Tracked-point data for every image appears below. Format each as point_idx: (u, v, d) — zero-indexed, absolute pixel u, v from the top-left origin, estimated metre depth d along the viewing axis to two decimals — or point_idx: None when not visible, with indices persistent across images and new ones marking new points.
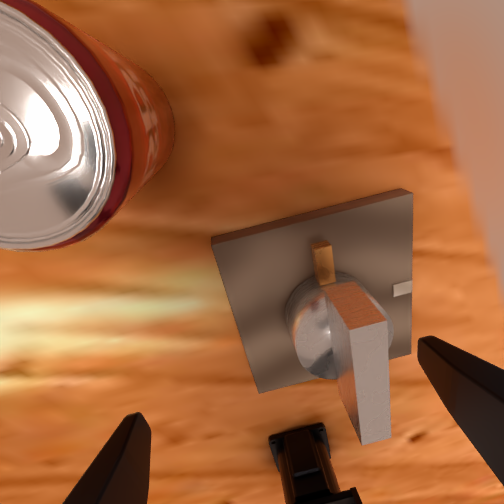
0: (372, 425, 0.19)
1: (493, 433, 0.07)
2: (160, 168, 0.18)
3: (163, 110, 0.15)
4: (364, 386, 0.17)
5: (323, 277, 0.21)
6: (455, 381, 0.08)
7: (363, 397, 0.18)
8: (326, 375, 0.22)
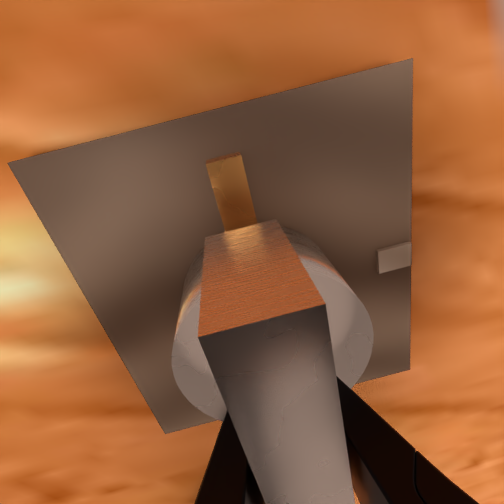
0: None
1: (353, 470, 0.07)
2: None
3: None
4: (283, 483, 0.06)
5: (233, 227, 0.11)
6: None
7: None
8: None
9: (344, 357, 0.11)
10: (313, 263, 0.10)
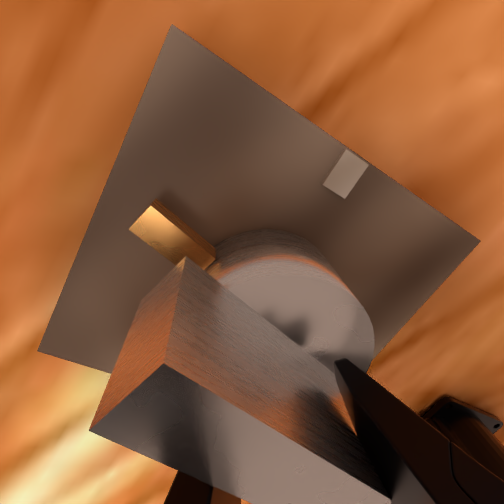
0: None
1: (382, 462, 0.07)
2: None
3: None
4: (279, 496, 0.07)
5: None
6: (355, 407, 0.08)
7: None
8: None
9: (343, 332, 0.10)
10: (259, 266, 0.10)
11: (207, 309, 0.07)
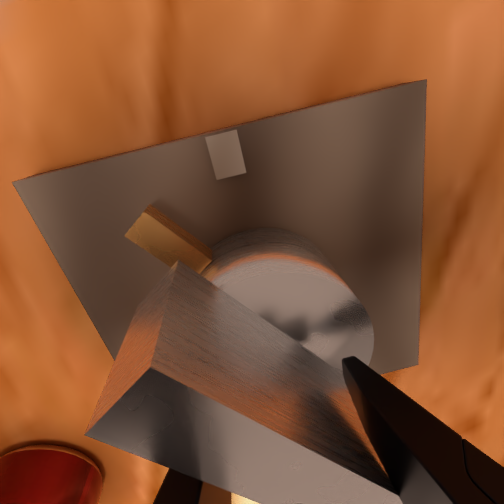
0: None
1: (393, 459, 0.07)
2: (64, 479, 0.18)
3: None
4: (278, 492, 0.07)
5: None
6: (365, 405, 0.08)
7: None
8: None
9: (341, 327, 0.10)
10: (252, 266, 0.10)
11: (199, 311, 0.07)
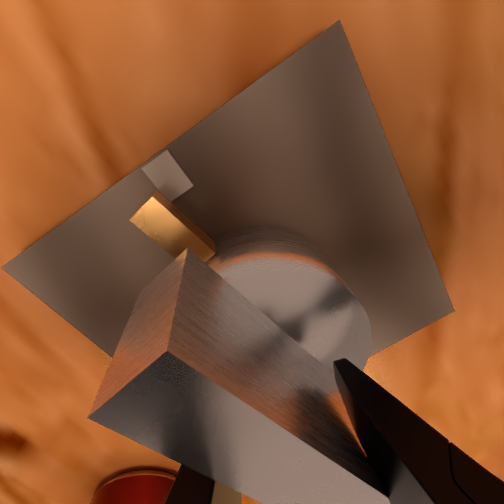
0: None
1: (382, 462, 0.07)
2: (152, 498, 0.20)
3: None
4: (275, 489, 0.07)
5: None
6: (354, 408, 0.08)
7: None
8: None
9: (341, 330, 0.10)
10: (259, 261, 0.10)
11: (208, 301, 0.07)
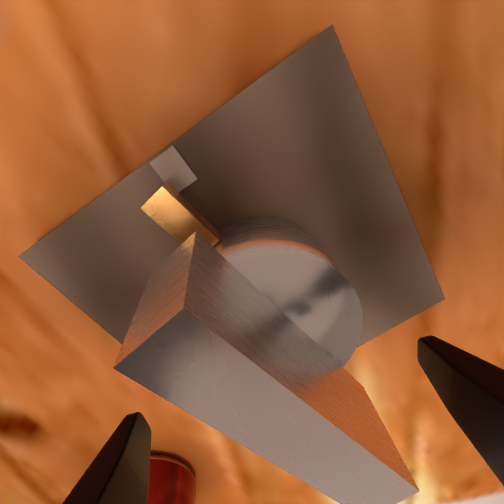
0: (359, 489, 0.09)
1: (493, 433, 0.07)
2: (158, 480, 0.20)
3: None
4: (272, 443, 0.08)
5: None
6: (455, 381, 0.08)
7: (291, 460, 0.08)
8: None
9: (335, 311, 0.11)
10: (260, 246, 0.10)
11: (215, 276, 0.08)
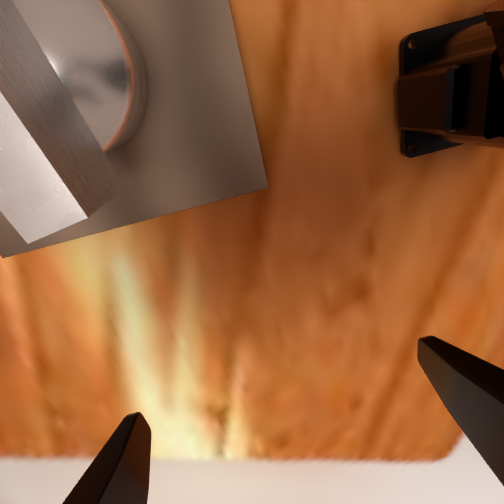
0: (8, 176, 0.08)
1: (493, 433, 0.07)
2: None
3: None
4: None
5: None
6: (455, 381, 0.08)
7: None
8: None
9: (93, 59, 0.10)
10: None
11: None
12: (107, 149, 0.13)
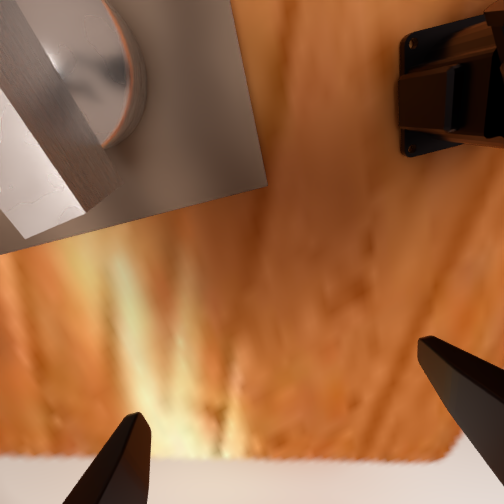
0: (5, 170, 0.08)
1: (493, 433, 0.07)
2: None
3: None
4: None
5: None
6: (455, 381, 0.08)
7: None
8: None
9: (92, 54, 0.10)
10: None
11: None
12: (106, 145, 0.13)
